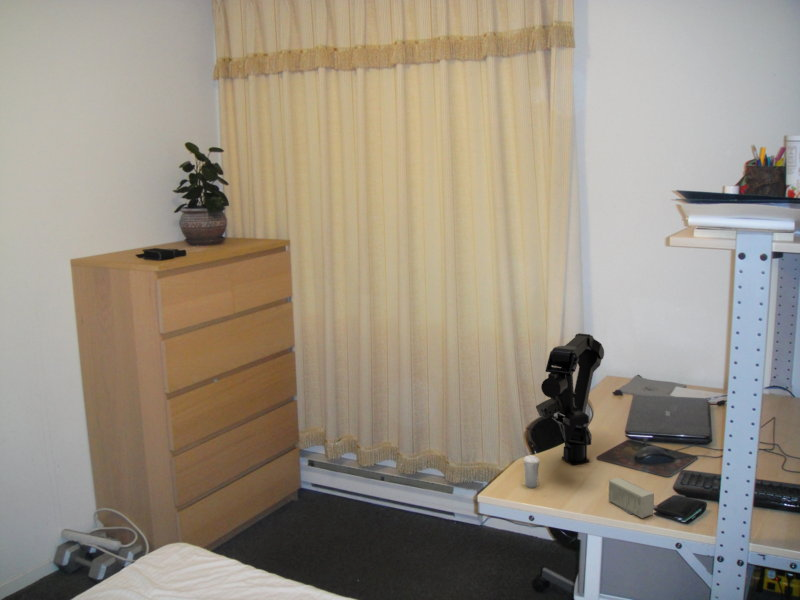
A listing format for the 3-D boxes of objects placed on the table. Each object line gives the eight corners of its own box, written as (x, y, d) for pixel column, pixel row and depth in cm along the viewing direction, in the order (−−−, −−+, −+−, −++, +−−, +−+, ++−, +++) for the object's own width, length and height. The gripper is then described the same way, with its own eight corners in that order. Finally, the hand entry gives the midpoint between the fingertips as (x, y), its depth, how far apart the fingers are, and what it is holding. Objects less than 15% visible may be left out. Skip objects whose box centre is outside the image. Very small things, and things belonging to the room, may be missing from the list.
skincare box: (618, 496, 196) (653, 514, 185) (607, 500, 194) (641, 519, 183) (619, 475, 195) (654, 492, 184) (608, 479, 193) (643, 497, 182)
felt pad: (637, 495, 197) (637, 494, 197) (657, 507, 189) (657, 506, 189) (611, 502, 194) (611, 501, 193) (630, 514, 186) (630, 513, 186)
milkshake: (542, 489, 202) (542, 457, 201) (523, 488, 203) (523, 456, 202) (542, 483, 207) (542, 451, 205) (523, 482, 208) (523, 450, 206)
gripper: (525, 387, 214) (529, 436, 216) (552, 400, 196) (556, 454, 198) (559, 382, 217) (562, 431, 218) (588, 394, 199) (591, 448, 200)
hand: (566, 441), depth 208 cm, fingers closed
